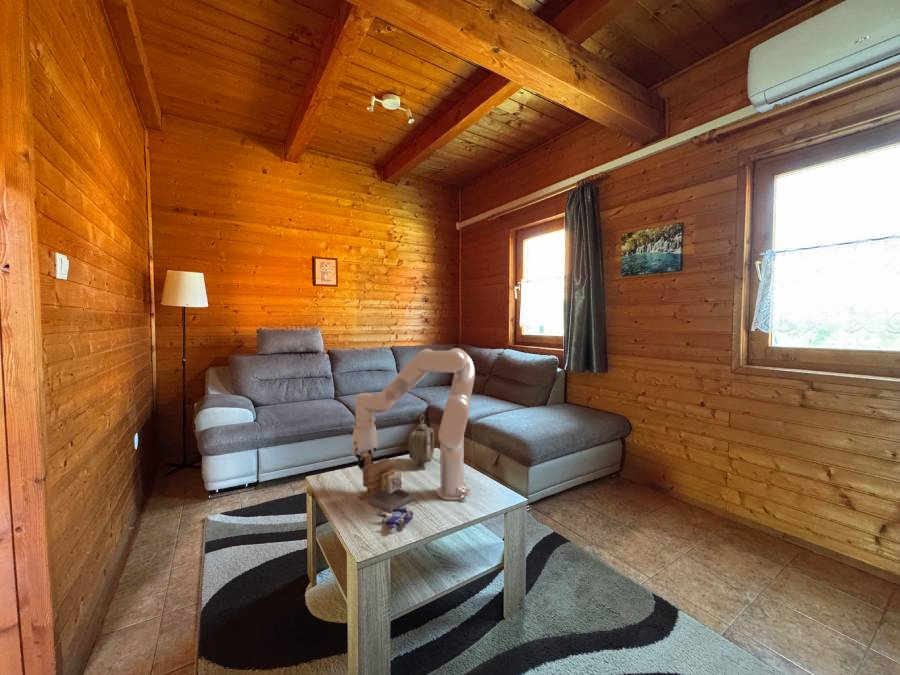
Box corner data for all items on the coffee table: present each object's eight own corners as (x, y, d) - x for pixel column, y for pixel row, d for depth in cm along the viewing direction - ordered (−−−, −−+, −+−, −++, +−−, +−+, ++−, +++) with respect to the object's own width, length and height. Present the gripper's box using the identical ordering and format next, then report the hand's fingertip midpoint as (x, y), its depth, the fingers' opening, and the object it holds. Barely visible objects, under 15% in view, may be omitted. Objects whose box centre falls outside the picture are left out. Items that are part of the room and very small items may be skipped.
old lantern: (426, 471, 172) (426, 419, 171) (408, 469, 174) (408, 418, 173) (434, 460, 186) (433, 411, 185) (417, 458, 188) (416, 410, 187)
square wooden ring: (401, 487, 144) (401, 472, 144) (390, 493, 139) (389, 478, 139) (398, 486, 145) (398, 471, 144) (387, 492, 140) (387, 477, 140)
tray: (413, 500, 144) (413, 494, 144) (390, 513, 135) (390, 506, 135) (392, 492, 152) (392, 486, 151) (369, 503, 142) (369, 497, 142)
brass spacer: (395, 485, 146) (394, 470, 146) (383, 490, 141) (383, 475, 141) (392, 484, 147) (392, 469, 146) (381, 489, 142) (381, 474, 142)
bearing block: (394, 492, 151) (393, 460, 150) (371, 504, 141) (371, 470, 141) (380, 487, 156) (379, 456, 155) (357, 498, 146) (357, 465, 146)
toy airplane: (368, 521, 130) (368, 511, 130) (404, 510, 137) (404, 501, 137) (381, 539, 119) (381, 529, 119) (419, 527, 126) (419, 517, 126)
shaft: (403, 483, 141) (403, 464, 141) (396, 487, 139) (396, 467, 138) (366, 470, 154) (366, 452, 154) (360, 473, 152) (359, 455, 151)
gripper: (374, 417, 160) (375, 458, 161) (342, 426, 147) (343, 470, 148) (386, 420, 155) (386, 462, 156) (354, 429, 142) (355, 475, 143)
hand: (365, 465), depth 152 cm, fingers open, 3 cm apart
